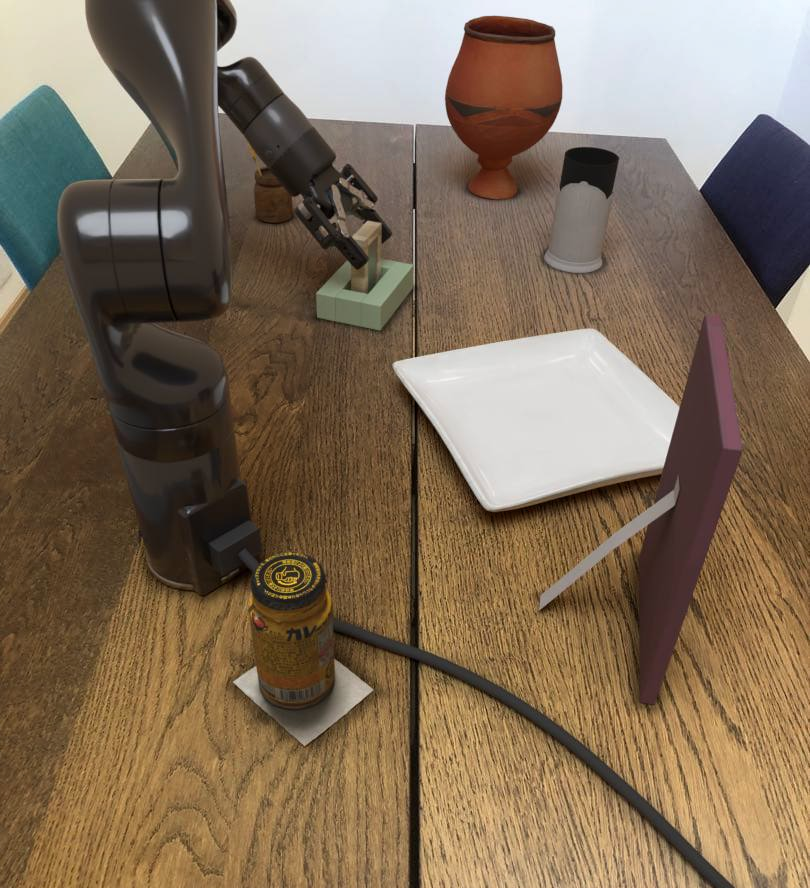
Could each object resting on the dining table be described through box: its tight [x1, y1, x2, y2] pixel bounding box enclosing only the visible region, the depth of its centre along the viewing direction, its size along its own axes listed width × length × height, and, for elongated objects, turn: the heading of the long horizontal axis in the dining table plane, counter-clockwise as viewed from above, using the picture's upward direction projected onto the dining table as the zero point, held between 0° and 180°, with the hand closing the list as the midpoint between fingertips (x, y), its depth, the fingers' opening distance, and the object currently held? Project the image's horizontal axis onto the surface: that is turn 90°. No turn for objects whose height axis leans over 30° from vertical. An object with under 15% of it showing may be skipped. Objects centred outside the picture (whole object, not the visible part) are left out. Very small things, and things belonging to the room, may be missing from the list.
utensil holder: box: [246, 140, 294, 224], centre depth 128 cm, size 6×6×12 cm
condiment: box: [232, 551, 374, 747], centre depth 61 cm, size 7×8×12 cm
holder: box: [315, 258, 415, 331], centre depth 110 cm, size 9×13×4 cm
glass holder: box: [543, 146, 620, 274], centre depth 120 cm, size 9×14×15 cm, turn 161°
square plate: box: [391, 327, 680, 513], centre depth 90 cm, size 27×27×4 cm
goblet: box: [444, 15, 564, 200], centre depth 134 cm, size 19×19×25 cm
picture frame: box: [538, 314, 744, 706], centre depth 63 cm, size 17×10×25 cm, turn 168°
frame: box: [351, 221, 382, 294], centre depth 108 cm, size 2×6×10 cm, turn 161°
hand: (375, 252), depth 106 cm, fingers open, 8 cm apart
